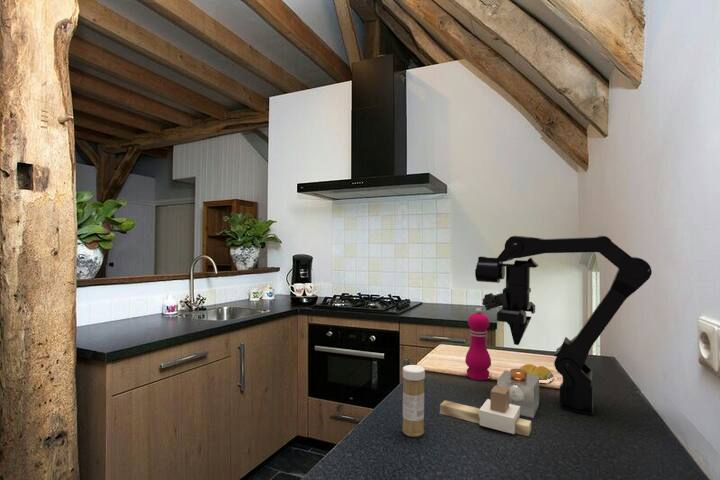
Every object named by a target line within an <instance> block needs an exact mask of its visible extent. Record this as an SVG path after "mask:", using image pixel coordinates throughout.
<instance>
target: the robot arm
mask: <svg viewBox="0 0 720 480" xmlns="http://www.w3.org/2000/svg"><path fill="white" fill-rule="evenodd" d="M563 253H564V254H567V253H568V254H570V253H571V254H573V253H574V254H575V253H599V254H600V255H601V256H603V257H604V258H605V259H607V260H608V261H609V262H610V263H612V265H614V266H615V267H616V268H617V270H616V272H615V275H614V278H613V279H612V283H611V284H610V287H609V289H608V291H607V292H606V293H605V295H604V297H602V299H601V300H600V302H599V303H598V305H597V307H596V308H595V309H594V310H593V312H592V313H591V315H590V316H589V317H588V319H587V320H586V321H585V323H584V324H583V326H582V328H581V329H580V330H579V331H578V333H577V335H576V336H574V337H573V338H572V339H569V338H568V337H567V336H565V337H564V339H563V341H562V344H561V345H560V346H559V347H557V348H556V351H555V352H554V357H556V358H555V359H554V368H555V370H556V371H557V373H559V374H560V376H561V377H562V378H563V379H562V383H560V385H559V403H560V404H561V406H560V408H561V409H563V410H568V411H572V412H577V413H581V414H585V415H593V414H594V408H595V407H594V381H592V379H593V373H594V371H593V369H592V368H590V367H589V365H588V364H586V362H587V361H586V360H587V358H588V356H589V354H590V351H591V348H592V347H593V346H594V344H595V342H596V341H597V340H598V338H599V337H600V336H601V334H602V333H603V331H604V330H605V329H606V328H607V326H608V325H609V323H610V322H611V321H612V319H613V317H614V316H615V315H616V314H617V312H618V311H619V309H620V308H621V307H622V305H623V304H624V302H625V301H626V300H627V299H628V298H629V297H631V295H633V294H634V293H635V292H636V291H638V290H639V289H640V288H641V287H642V286H643V285H644V284H646V282H647V281H649V279H650V278H651V276H652V271H653V270H652V267H651V265H650V264H649V262H647V260H645V259H643V258H640V257H638V256H631V255H630V254H628V253H627V252H626V251H624V250H623V249H622V248H621V247H620V246H619V245H617V244H616V243H615V242H613V241H612V240H611V239H610V237H609V236H606V235H598V236H591V237H589V236H588V237H587V236H586V237H585V236H583V237H565V238H564V237H563V238H561V237H560V238H541V237H533V236H525V235H513V236H510V237H509V238H507V240H505V243H504V249H503V250H502V251H501V252H500V254H499V255H498V257H487V256H478V257H477V258H478V259H477V263H476V266H475V267H476V268H475V270H474V276H475V280H476V282H481V283H494V284H500V282H501V280H504V279H505V287H504V288H503V289H502V292H501V293H497V294H493V293H492V292H490V293H488V294H484V297H483V298H482V304H481V305H482V306H484V308H485V310H486V311H490V310H492V309H496V308H499V307H501V309H500V310H499V311H497V312H496V321H497V322H502V323H507V324H508V326H509V329H510V333H511V337H512V340H513V345H515V346H519V344H520V343H521V341H522V339H523V336H524V334H525V332H526V330H527V328H528V326H529V323H530V321H531V320H532V316H528V315H527V312H529V313H530V314H532V315H533V314H535V313H536V305H535V304H534V303H533V302H532V301H530V293H531V292H532V287H530V283H531V280H530V279H531V277H530V275H531V273H530V271H531V268H533V269H536V268H538V267H539V264H538V263H537V262H536V261H535V260H534V259H533V257H534V256H537V255H542V254H563ZM531 256H533V257H531ZM525 257H527V258H528V257H529V258H528V259H527V260H524V259H523V260H517V259H522V258H525ZM514 259H516V260H514ZM512 260H514V263H505V262H510V261H512Z"/></svg>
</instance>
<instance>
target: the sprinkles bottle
mask: <svg viewBox="0 0 720 480" xmlns="http://www.w3.org/2000/svg"><path fill="white" fill-rule="evenodd" d="M425 378H426V369H425V367H423V366H421V365H417V364H408V365H404V366H403V367H402V379H403V380H402V382H403V384H402V385H403V386H402V429H401V430H402V432H403V434H405V436H408V437H413V438H414V437H415V438H416V437H421V436H422V435H424V433H425V428H424V419H425Z"/></svg>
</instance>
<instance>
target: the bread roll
mask: <svg viewBox="0 0 720 480" xmlns="http://www.w3.org/2000/svg"><path fill="white" fill-rule="evenodd" d="M519 369H522V370H525V371H526V372H527V375H533V376H538V377H539V380H547V379H550V378H552V377H555V375H554V374H553V372H552V371H551V370H550V369H549V368H548V367H546V366H543V365H539V366H537V365H534V364H532V363H527V364H524V365H521V366H520V368H519Z"/></svg>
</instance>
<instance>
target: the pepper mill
mask: <svg viewBox="0 0 720 480" xmlns="http://www.w3.org/2000/svg"><path fill="white" fill-rule="evenodd" d="M482 312H483V310H482V308H480V307H476V309H475V313H472V314H471V315H469V317H468V319H467V325H468V326H469V328H470V329H469V336H470V340H471V341H470V346H469V348H468V350H467V352H466V355H465V360H464V361H465V364H466V366H467V367H468V368H467V369H466V376H467V377H468V378H469V379H472V380H476V381H477V380H478V381H487V380H489V378H490V370H488V369H489V368H490V367H491V365H492V359H491V355H490V353H489V351H488V349H487V342H486V339H487V337H488V330H487V329H488V328H489V327H490V319H489V317H488V316H487V315H485V314H484V313H482ZM488 377H489V378H488Z"/></svg>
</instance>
